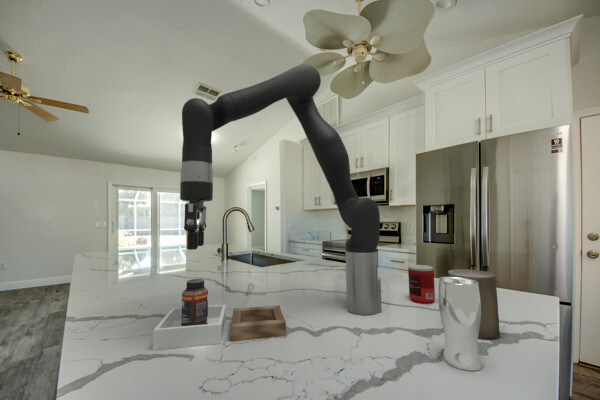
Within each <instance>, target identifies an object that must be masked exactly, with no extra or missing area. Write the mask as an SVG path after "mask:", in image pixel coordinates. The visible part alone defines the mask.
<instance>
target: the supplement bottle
mask: <svg viewBox="0 0 600 400" xmlns="http://www.w3.org/2000/svg"><path fill="white" fill-rule="evenodd" d="M208 306H209V290H208V288H207V287H206V286H205V279H203V278H193V279H189V280H187V281H186V288H185V289H184V290H183V291H182V292H181V308H182V315H181V326H193V325H205V324H208Z"/></svg>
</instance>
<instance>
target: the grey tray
mask: <svg viewBox="0 0 600 400" xmlns="http://www.w3.org/2000/svg"><path fill="white" fill-rule="evenodd" d="M181 315H182V307H174V308H171V309H170V310H169V311H168V313H166V315H165V316H164V317H163V318H162V319H161V321H160V322H159V323H158V324H157V326H156V327H155V328H154V329H153V330H152V331H153V333H152V351H158V350H166V349H167V350H169V349H176V348H177V349H179V348H190V347H197V346H198V347H200V346H210V345H218V344H219V345H220V344H222V340H223V336H224V331H225V325H226V321H227V304H220V305H219V304H218V305H216V304H215V305H208V324H205V325H193V326H181Z"/></svg>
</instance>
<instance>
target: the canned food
mask: <svg viewBox="0 0 600 400" xmlns="http://www.w3.org/2000/svg"><path fill="white" fill-rule="evenodd" d="M407 269H408V270H407V271H408V273H407V275H408V290H409V291H408V294H409V296H408V297H409V300H410V301H411V302H412V303H416V304H421V305H432V304H434V303H435V301H436V294H435V291H436V290H435V270H434V267H433V266H431V265H427V264H426V265H425V264H424V265H423V264H410V265H408V267H407Z"/></svg>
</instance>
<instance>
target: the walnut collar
mask: <svg viewBox="0 0 600 400" xmlns="http://www.w3.org/2000/svg"><path fill="white" fill-rule="evenodd" d="M286 328H287V321H286V320H285V317H284V314H283V311H282V308H281V306H280V305H266V306H265V305H264V306H251V307H239V308H233V311H232V317H231V323H230V342H237V341H238V342H239V341H247V340H256V339H257V340H258V339H259V340H260V339H267V338H270V339H271V338H276V337H279V338H280V337H286V336H287V329H286Z"/></svg>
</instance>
